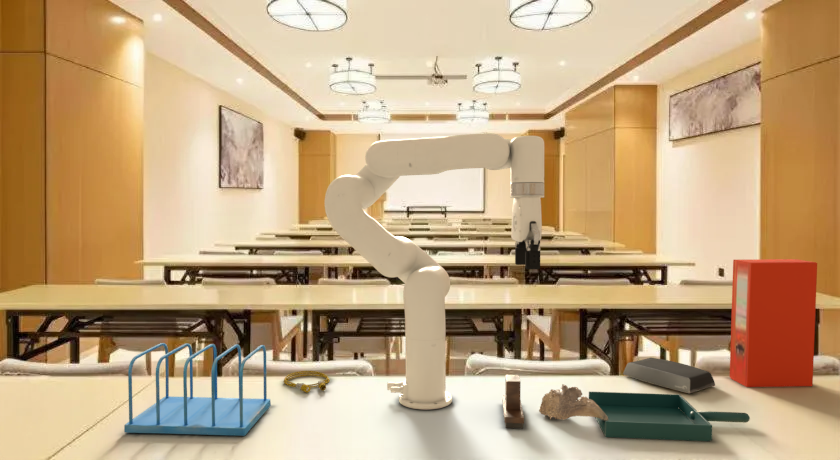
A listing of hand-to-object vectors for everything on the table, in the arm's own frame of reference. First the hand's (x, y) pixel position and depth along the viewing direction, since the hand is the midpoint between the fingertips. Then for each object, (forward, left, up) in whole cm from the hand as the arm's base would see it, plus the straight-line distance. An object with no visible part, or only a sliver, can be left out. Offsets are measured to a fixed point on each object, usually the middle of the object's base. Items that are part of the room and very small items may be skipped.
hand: (527, 266), depth 133 cm
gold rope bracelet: (-55, +12, -33) cm, 65 cm away
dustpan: (+30, -6, -32) cm, 45 cm away
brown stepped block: (-3, -6, -33) cm, 33 cm away
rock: (+10, -6, -33) cm, 34 cm away
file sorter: (-70, -15, -33) cm, 79 cm away
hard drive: (+39, +24, -33) cm, 56 cm away
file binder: (+65, +26, -33) cm, 77 cm away
